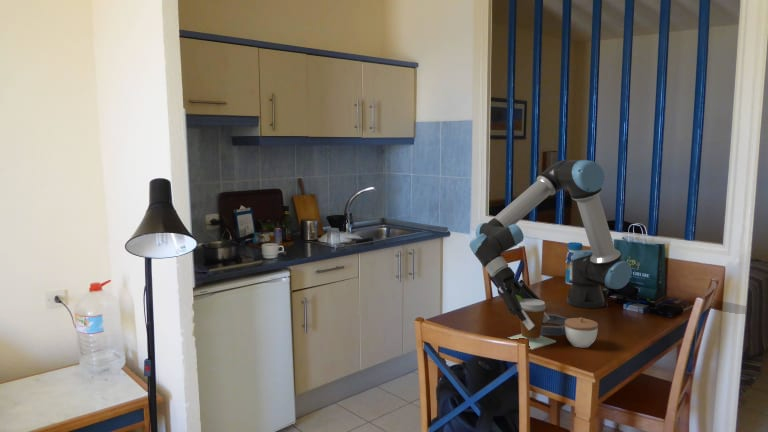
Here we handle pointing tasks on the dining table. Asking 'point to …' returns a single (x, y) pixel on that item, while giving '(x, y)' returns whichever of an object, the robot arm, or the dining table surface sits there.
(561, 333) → the grey shallow tray
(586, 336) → the lidded jar
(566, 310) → the dining table surface
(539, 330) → the disposable coffee cup
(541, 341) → the sage mat
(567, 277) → the beverage bottle
